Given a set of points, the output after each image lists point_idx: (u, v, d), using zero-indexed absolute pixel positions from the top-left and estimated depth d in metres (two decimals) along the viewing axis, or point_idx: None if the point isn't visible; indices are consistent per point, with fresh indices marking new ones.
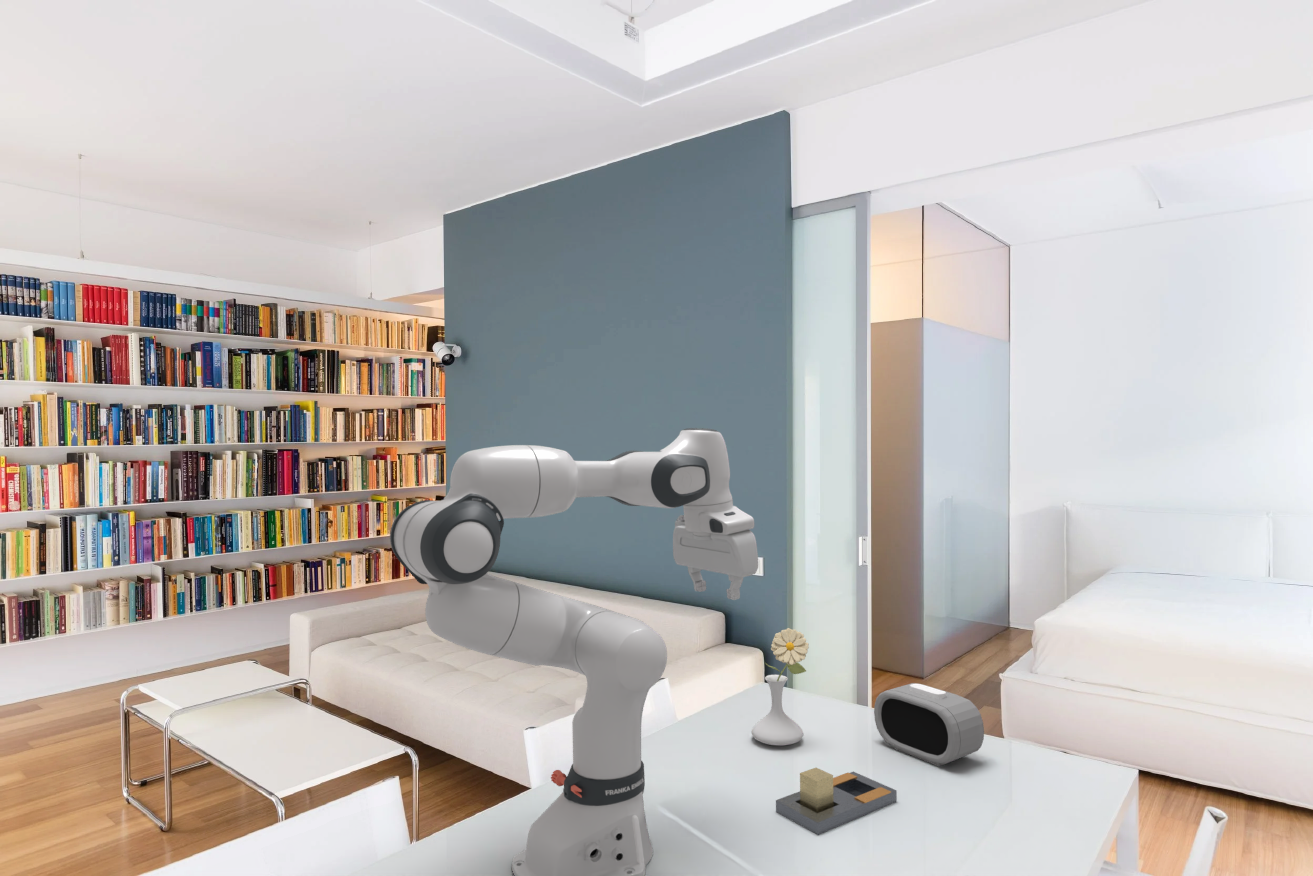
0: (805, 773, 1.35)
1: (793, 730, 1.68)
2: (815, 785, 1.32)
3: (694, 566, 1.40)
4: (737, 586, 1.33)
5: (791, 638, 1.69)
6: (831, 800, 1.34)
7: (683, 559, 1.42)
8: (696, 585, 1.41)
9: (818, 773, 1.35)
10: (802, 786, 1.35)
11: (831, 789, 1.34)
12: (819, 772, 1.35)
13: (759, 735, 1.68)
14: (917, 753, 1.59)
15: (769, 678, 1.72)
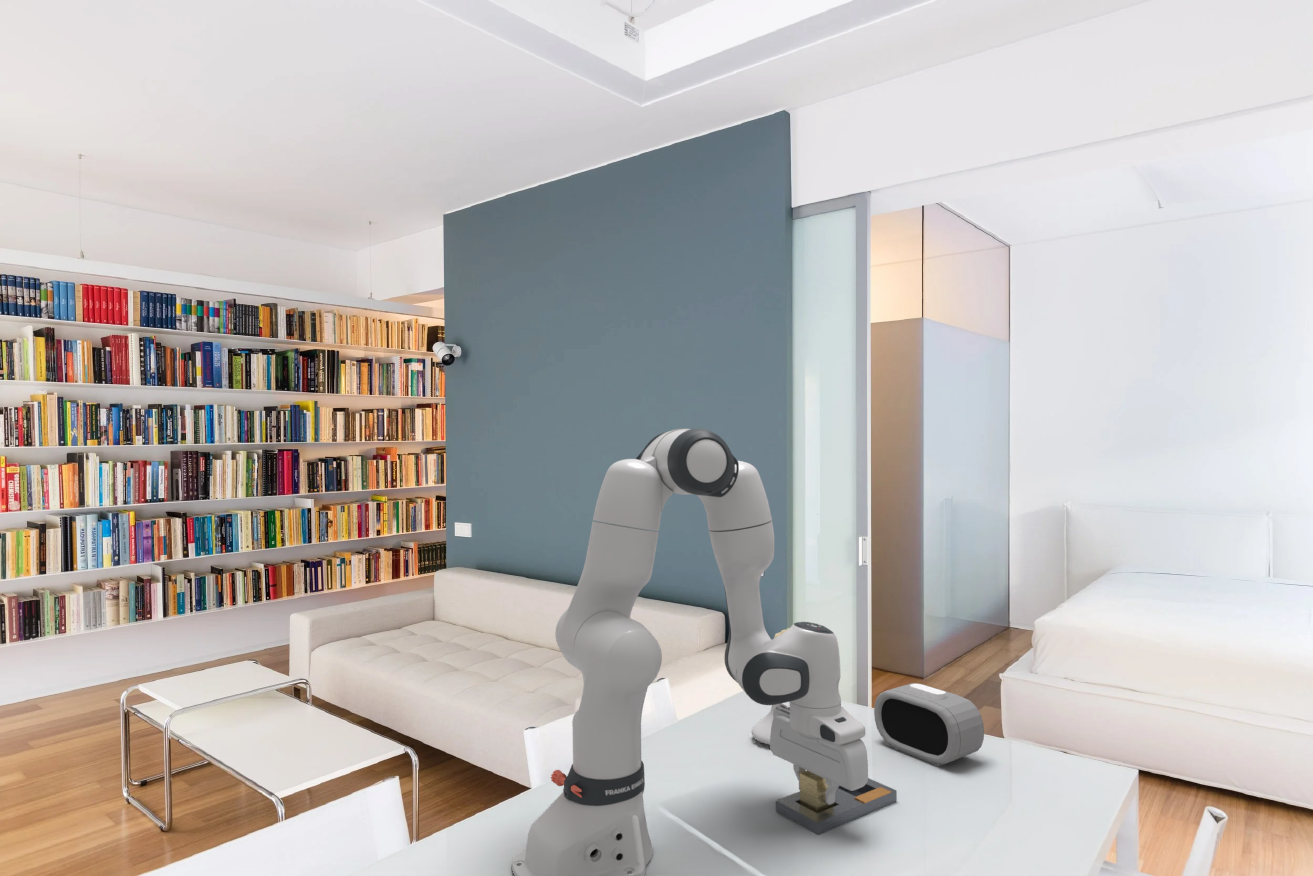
0: (805, 773, 1.35)
1: None
2: (815, 785, 1.32)
3: (794, 763, 1.36)
4: (833, 791, 1.31)
5: None
6: None
7: (782, 753, 1.39)
8: None
9: None
10: (802, 786, 1.35)
11: None
12: None
13: (759, 735, 1.68)
14: (917, 753, 1.59)
15: None
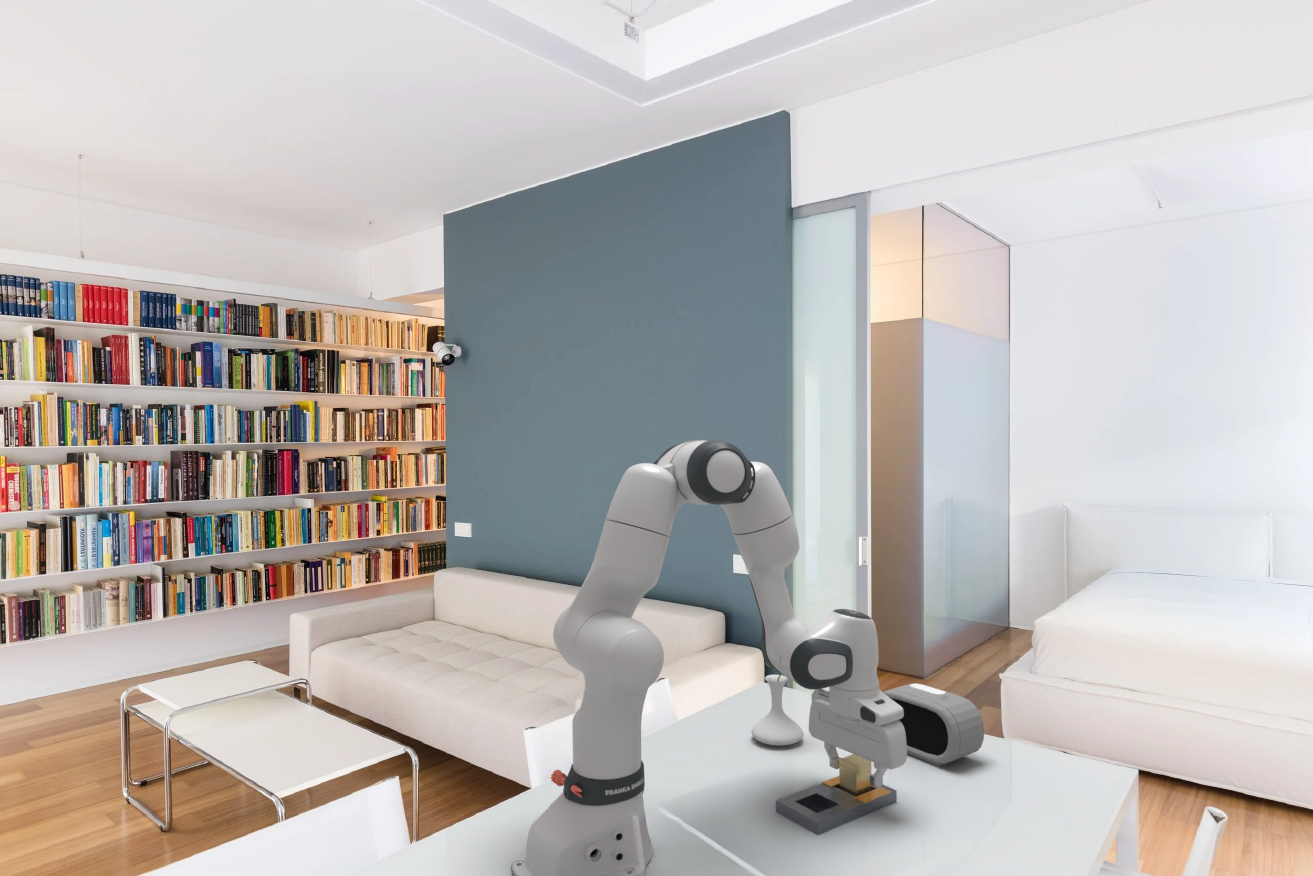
0: (844, 759, 1.41)
1: (793, 730, 1.68)
2: (855, 770, 1.38)
3: (833, 744, 1.42)
4: (881, 774, 1.35)
5: None
6: (869, 785, 1.39)
7: (821, 735, 1.45)
8: (833, 761, 1.43)
9: (857, 759, 1.40)
10: (841, 771, 1.40)
11: (869, 774, 1.39)
12: (857, 758, 1.41)
13: (759, 735, 1.68)
14: (917, 753, 1.59)
15: (769, 678, 1.72)
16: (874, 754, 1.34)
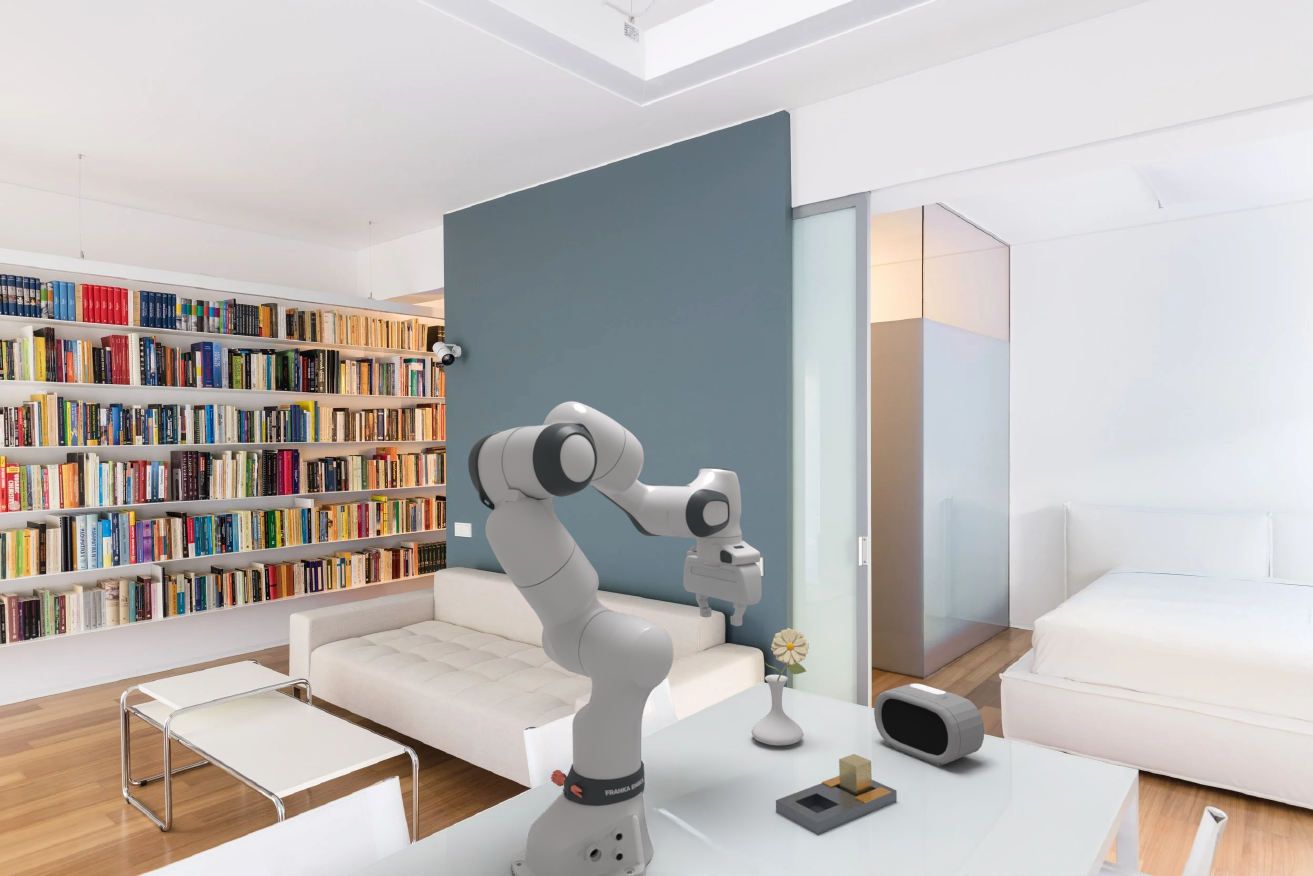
0: (844, 759, 1.41)
1: (793, 730, 1.68)
2: (855, 770, 1.38)
3: (702, 593, 1.53)
4: (740, 614, 1.47)
5: (791, 638, 1.69)
6: (869, 785, 1.39)
7: (692, 587, 1.56)
8: (702, 610, 1.54)
9: (857, 759, 1.40)
10: (841, 771, 1.40)
11: (869, 774, 1.39)
12: (857, 758, 1.41)
13: (759, 735, 1.68)
14: (917, 753, 1.59)
15: (769, 678, 1.72)
16: (732, 594, 1.45)
